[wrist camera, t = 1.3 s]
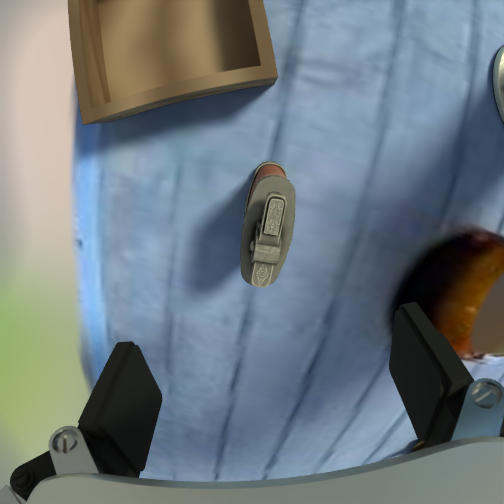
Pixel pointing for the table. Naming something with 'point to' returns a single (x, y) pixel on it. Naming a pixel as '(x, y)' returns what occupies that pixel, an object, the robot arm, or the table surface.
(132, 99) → the walled box
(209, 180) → the table surface
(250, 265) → the lighter
